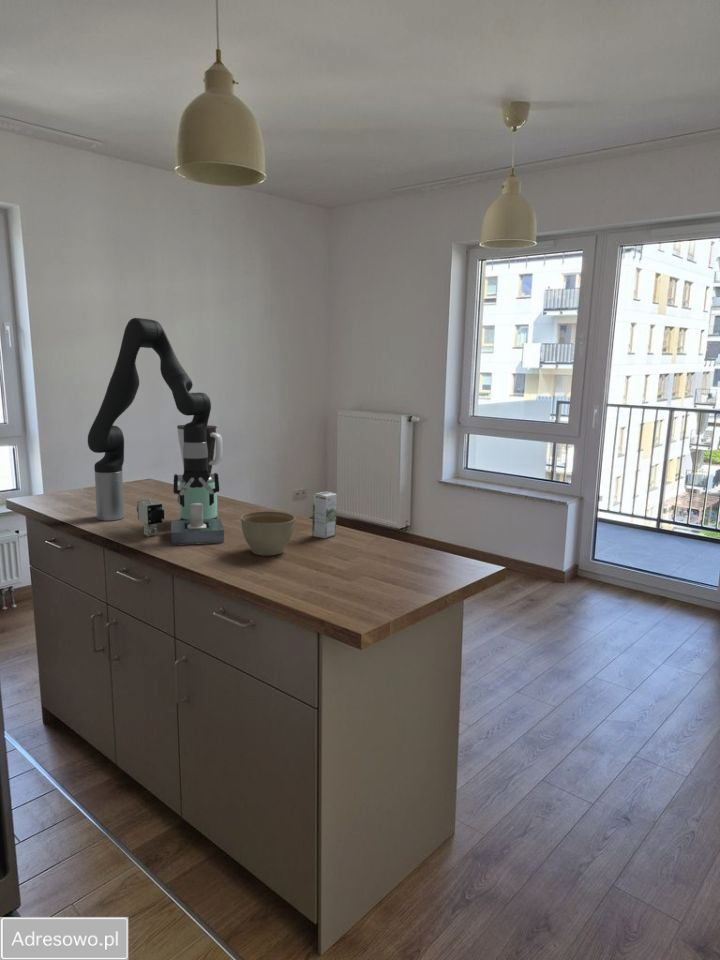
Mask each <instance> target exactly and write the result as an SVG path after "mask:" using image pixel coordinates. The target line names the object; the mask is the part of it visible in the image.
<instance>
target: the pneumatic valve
mask: <svg viewBox="0 0 720 960" xmlns="http://www.w3.org/2000/svg"><path fill="white" fill-rule="evenodd" d="M136 512H137V520H138V521H141V522H142V523H144V524H143V535H144V536H146V537H148V538H150V537H153V536H156V535H157V536H158V534H159V533H158V525H157V524H163V522H164V521H163V520H165V509H163V504H162V503H161V501H155V500H153V499H151V498H148V499H145V500H137V506H136Z"/></svg>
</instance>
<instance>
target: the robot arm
mask: <svg viewBox="0 0 720 960" xmlns="http://www.w3.org/2000/svg"><path fill="white" fill-rule="evenodd" d="M122 336H123V337H122V340H121V344H120V349H119V354H118V357H117V360H116V362H115V363H116V364H115V365H114V368H113V372H112V373H111V374H112V375H111V377H110V380H109V382H108V385H107V389H106V391H105V395H104V398H103V400H102V403H101V405H100V407H99V410H98V412H97V415H96V417H95V418H94V420H93V423H92V425H91V427H90V429H89V432H88V434H87V447H88V448H89V450H90V451H91V452H93V453H98V454H102V453H103V454H104V455H103V456H102V458H101V459H100V460H98V461H96V462H95V463H94V466H93V467H94V468H93V470H94V482H95V483H94V485H95V486H94V487H95V508H96V510H95V511H96V519H97V520H99V521H104V522H105V521H106V522H107V521H109V522H110V521H117V520H121V519H123V518H125V503H124V482H123V481H124V478H123V465H124V462H125V437H124V433H123V431H122V429H121V428H120V427H119V426H117V425H114V423H116V420H117V419H118V418H119V417H120V416H121V415H122V414H123V413H124V412H125V411H126V410H127V409H128V408H130V406H131V405H132V403H133V402H134V400H135V398H136V396H137V393H138V390H139V387H140V378H139V373H138V370H137V365H136V363H137V361H136V360H137V356H138V353H139V351H140V349H141V348H146V349H152V350H153V351H154V352H155V353H156V354H157V355H158V357H159V360H160V362H159V363H160V364H159V365H160V366H159V367H160V368H159V369H160V375H161V376H162V379H163V381H164V382H165V384H166V385H167V386H168V388H169V390H170V391H171V392H172V397H173V399H174V400H173V401H174V404H175V406H176V409H177V410H178V411H179V412H180V413H181V414H182V415H184V416H190V417H191V416H193V417H192V420H191V421H189V422H187V423H185V424H183V425H184V429H183V433H184V434H183V435H184V446H183V460H182V462H183V461H184V466H183V473H182V474H177V473H175V474H174V475H173V488H172V489H173V493H174V495H178V496H180V504H179V506H180V505H182V507H185V506H184V493H185V491H186V490H187V489H188V488H189V487H191V488H195V487H199V488H202V487H203V486H204V487H205V488H206V489H207V490H208V491H209V505H210V506H212V504H213V503H214V493H216V492H217V493H219V492H220V481H219V474H218V472H214V473H211V474H209V473H208V450H207V442H206V428H207V425H209V420H210V419H209V418H210V414H211V410H212V403H211V399H210V396H208V395H207V393H204V392H191V390H192V388H193V381H192V379H191V378H190V376H189V375H188V373H187V371H185V369H184V367H183V366H182V364H181V362H180V361H179V360H178V357H177V355H176V354H175V351H174V349H173V346H172V344H171V342H170V340H169V338H168V336H167V333H166V331H165V329H164V328H163V326H162V324H161V323H160V322H159V321H157V320H154V319H150V318H141V317H134V318H131V319H129V320H128V322H127V324H126V326H125V328H124V332H123V335H122ZM210 477H211V478H212V480H214V482H215V488H214V489H212V488H211V487H210V486H209V485H208V483H207V481H208V479H209V478H210ZM181 478H183V480H184V481H185V482H186V483H185V484H184V486H183V487H182V489H181V490H179V488H178V486H179V485H178V484H179V483H180V480H181Z"/></svg>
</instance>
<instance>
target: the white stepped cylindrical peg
mask: <svg viewBox="0 0 720 960" xmlns="http://www.w3.org/2000/svg"><path fill="white" fill-rule="evenodd" d="M192 528H206V524H203V504H201V503H193V504H190V524H189V525H188V526H187V529H192Z"/></svg>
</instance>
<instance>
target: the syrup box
mask: <svg viewBox="0 0 720 960" xmlns="http://www.w3.org/2000/svg"><path fill="white" fill-rule="evenodd" d="M312 497H313V499H312V529H311V531H312V532H311V536H312V537H315V538H316V537H317V538H322V539H327V538H331V537H334V536H336V534H337V533H336V530H337V528H336V527H337V505H338V504H337V501H338V500H337V499H338V498H337V497H338V495H337V493H334V492H331V491H321V492H317V493H316V492H315V493H313V496H312Z"/></svg>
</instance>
